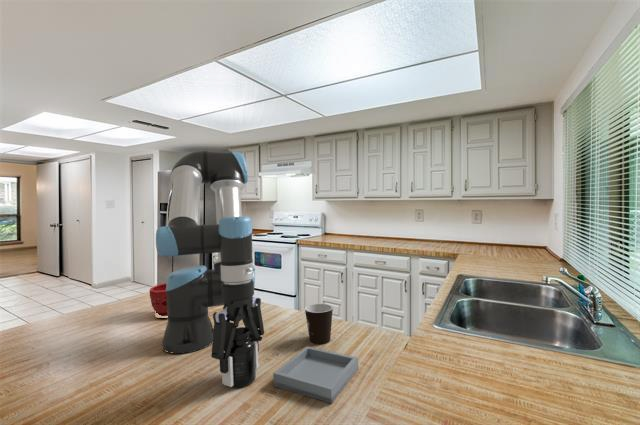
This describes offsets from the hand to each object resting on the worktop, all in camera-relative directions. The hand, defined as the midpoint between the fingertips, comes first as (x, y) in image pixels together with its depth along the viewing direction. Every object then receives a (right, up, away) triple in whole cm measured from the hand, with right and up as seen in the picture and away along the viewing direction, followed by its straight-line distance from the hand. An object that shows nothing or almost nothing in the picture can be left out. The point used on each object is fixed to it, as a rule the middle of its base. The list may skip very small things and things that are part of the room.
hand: (241, 375), depth 74 cm
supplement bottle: (0, -1, 0) cm, 1 cm away
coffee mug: (+19, -1, +23) cm, 30 cm away
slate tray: (+18, -1, 0) cm, 18 cm away
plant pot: (-41, -2, +49) cm, 64 cm away
